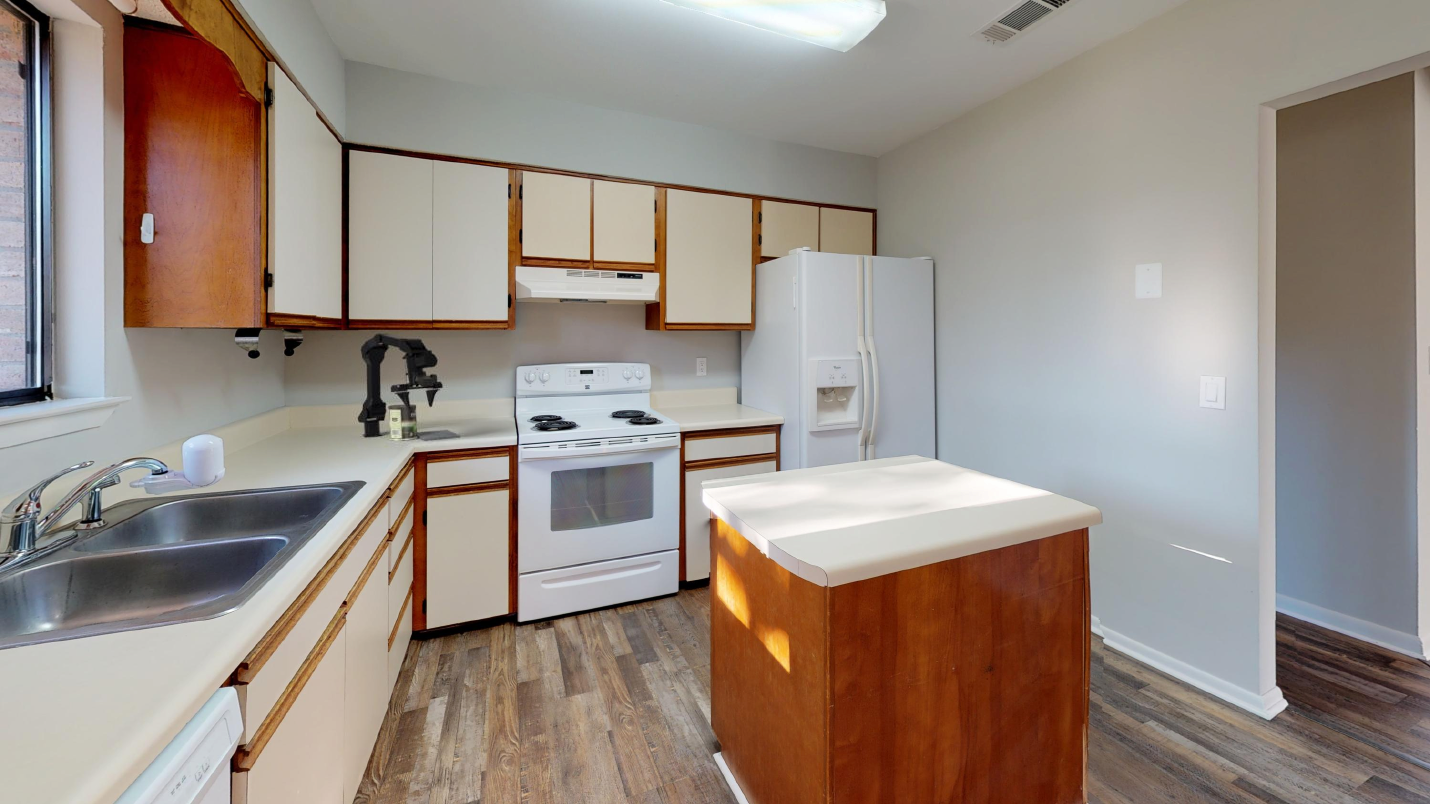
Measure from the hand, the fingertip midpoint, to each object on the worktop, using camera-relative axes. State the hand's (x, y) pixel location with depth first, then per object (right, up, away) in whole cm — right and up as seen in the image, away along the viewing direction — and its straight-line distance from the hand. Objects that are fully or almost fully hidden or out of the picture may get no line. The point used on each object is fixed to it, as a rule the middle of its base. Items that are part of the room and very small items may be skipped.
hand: (420, 408), depth 226 cm
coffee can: (-12, -13, +9) cm, 20 cm away
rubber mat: (-2, -12, +17) cm, 21 cm away
